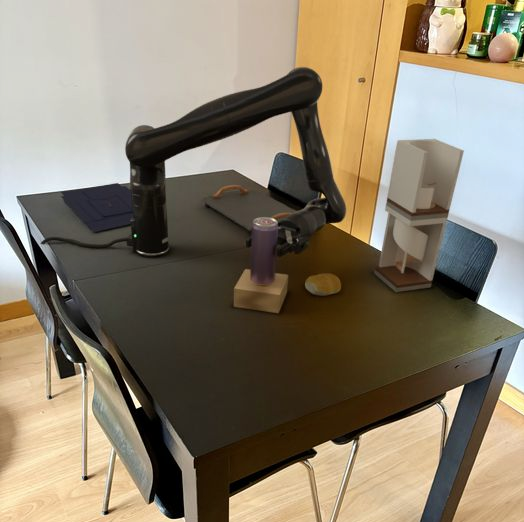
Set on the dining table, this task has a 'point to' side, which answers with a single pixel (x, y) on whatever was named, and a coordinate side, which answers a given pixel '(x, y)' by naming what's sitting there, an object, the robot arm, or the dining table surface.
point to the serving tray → (246, 205)
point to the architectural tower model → (417, 211)
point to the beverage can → (263, 251)
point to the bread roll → (323, 284)
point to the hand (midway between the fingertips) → (262, 248)
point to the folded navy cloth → (101, 205)
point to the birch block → (260, 293)
